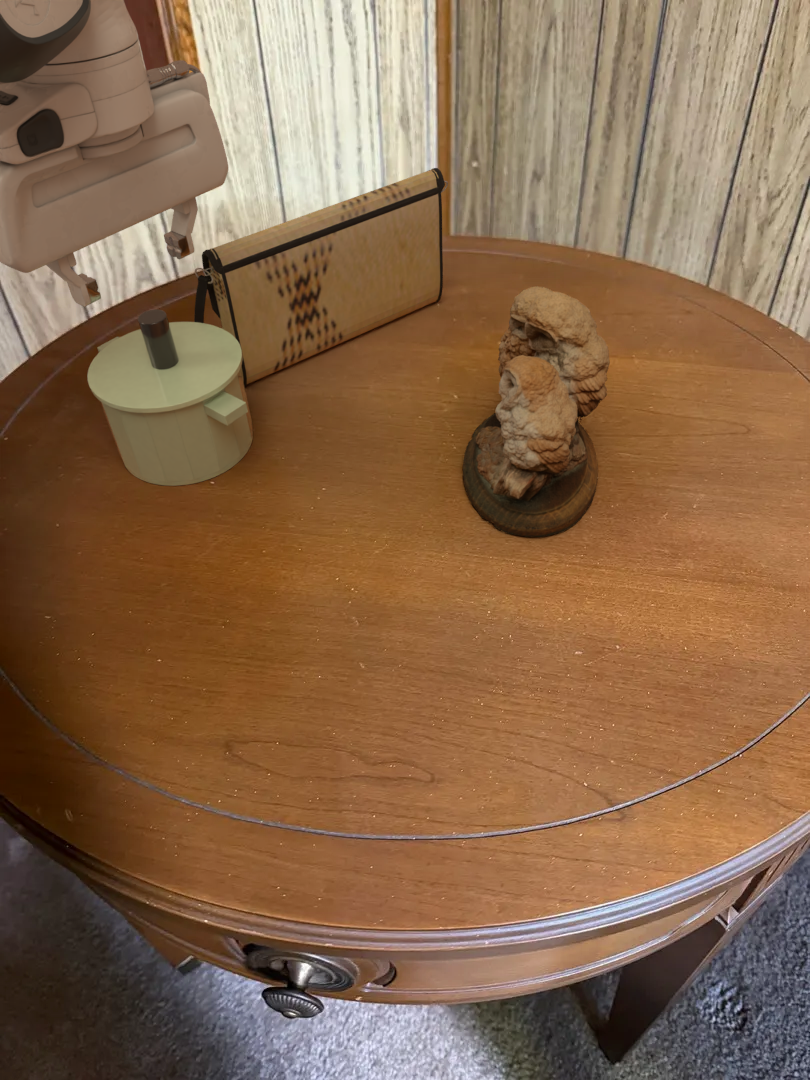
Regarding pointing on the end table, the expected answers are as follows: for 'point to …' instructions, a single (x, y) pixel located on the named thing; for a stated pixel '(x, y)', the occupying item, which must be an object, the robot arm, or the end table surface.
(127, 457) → the pot
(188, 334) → the lid
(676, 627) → the end table surface
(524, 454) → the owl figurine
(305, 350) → the clutch purse
